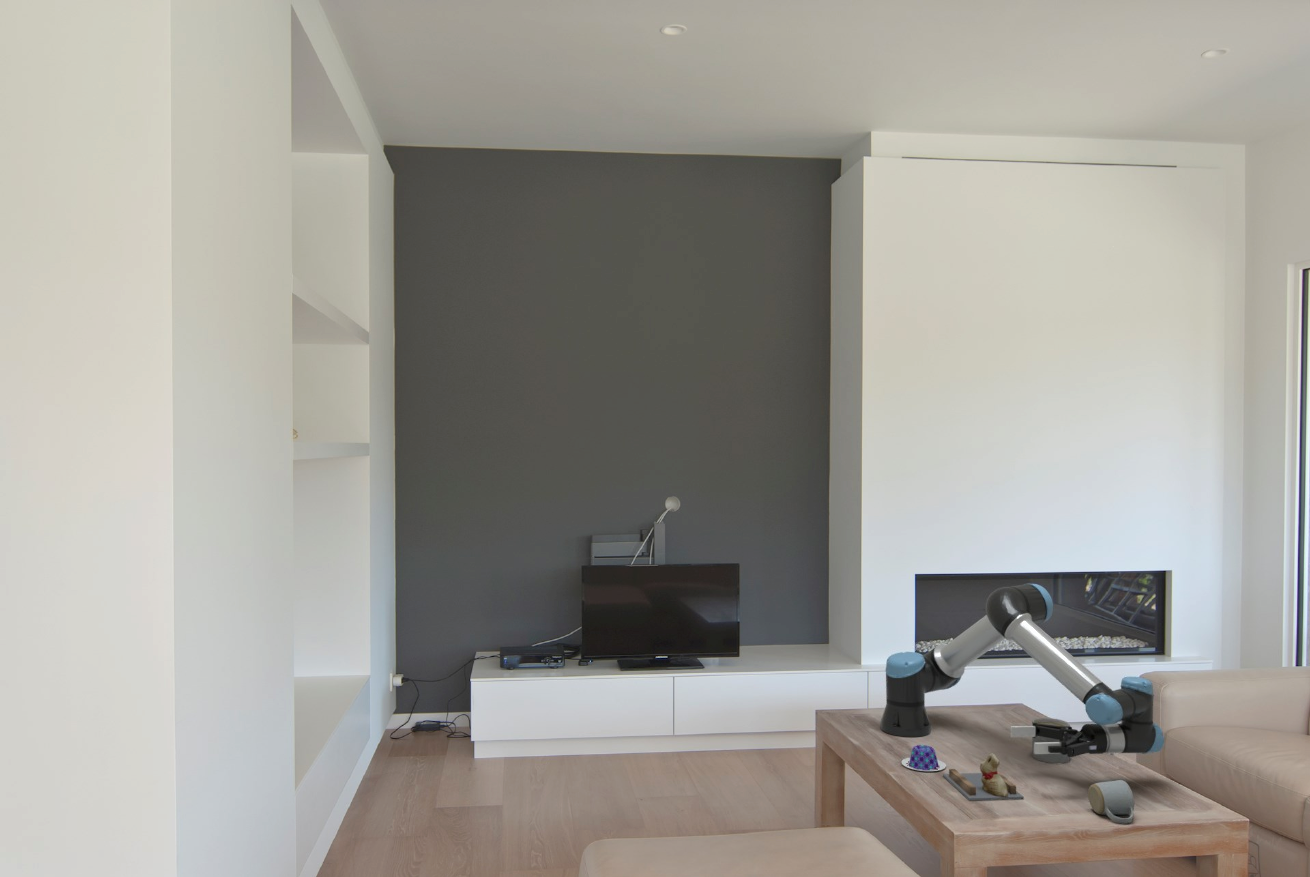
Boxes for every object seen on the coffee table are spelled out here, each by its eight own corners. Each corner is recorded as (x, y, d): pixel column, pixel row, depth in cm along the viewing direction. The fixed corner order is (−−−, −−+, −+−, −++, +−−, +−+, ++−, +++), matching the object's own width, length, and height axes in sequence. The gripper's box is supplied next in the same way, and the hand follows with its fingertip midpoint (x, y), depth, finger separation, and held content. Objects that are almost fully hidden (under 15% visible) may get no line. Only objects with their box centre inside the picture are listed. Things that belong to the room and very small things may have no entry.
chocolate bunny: (1000, 786, 245) (999, 747, 246) (1010, 797, 238) (1010, 757, 238) (978, 786, 246) (978, 747, 246) (988, 797, 238) (987, 757, 238)
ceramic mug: (1085, 808, 232) (1085, 776, 232) (1117, 806, 233) (1117, 775, 233) (1109, 825, 221) (1109, 793, 221) (1143, 824, 222) (1143, 791, 222)
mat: (942, 776, 255) (942, 774, 255) (993, 774, 256) (993, 772, 256) (969, 800, 237) (969, 798, 237) (1023, 799, 238) (1023, 796, 238)
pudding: (895, 760, 269) (895, 741, 269) (936, 759, 270) (936, 740, 270) (909, 774, 257) (909, 755, 258) (952, 773, 258) (952, 754, 258)
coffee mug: (1051, 765, 263) (1051, 729, 263) (1024, 755, 272) (1024, 720, 273) (1087, 759, 269) (1087, 723, 269) (1059, 749, 278) (1059, 714, 278)
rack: (949, 776, 253) (949, 768, 253) (992, 775, 254) (992, 767, 254) (970, 795, 239) (970, 787, 239) (1016, 794, 240) (1016, 786, 240)
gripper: (1127, 769, 236) (1045, 771, 235) (1077, 737, 261) (1002, 739, 260) (1127, 739, 236) (1045, 740, 235) (1077, 710, 261) (1002, 711, 260)
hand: (1022, 739), depth 247 cm, fingers open, 13 cm apart
